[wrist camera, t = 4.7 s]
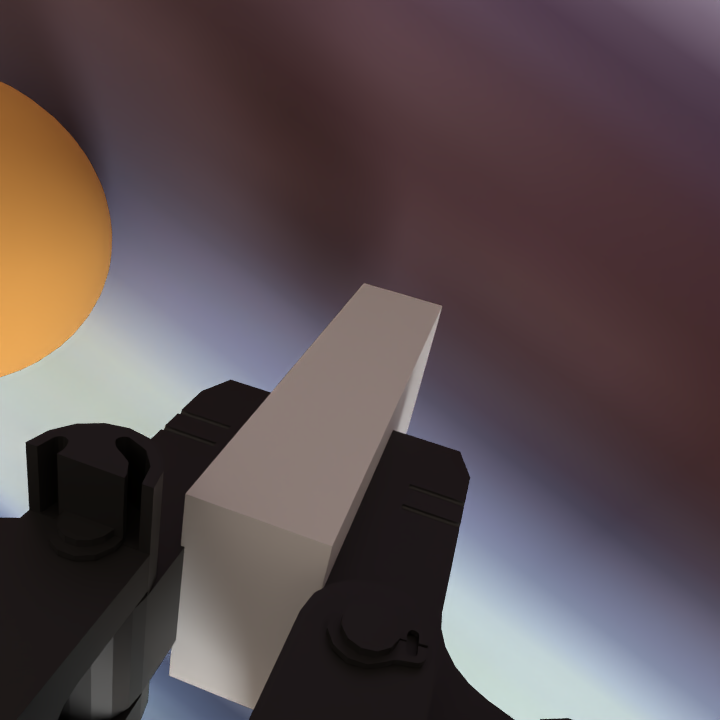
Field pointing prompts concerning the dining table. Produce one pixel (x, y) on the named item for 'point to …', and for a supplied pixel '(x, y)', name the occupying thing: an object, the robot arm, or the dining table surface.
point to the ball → (46, 233)
